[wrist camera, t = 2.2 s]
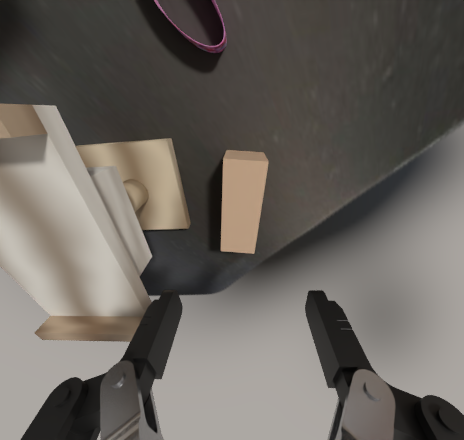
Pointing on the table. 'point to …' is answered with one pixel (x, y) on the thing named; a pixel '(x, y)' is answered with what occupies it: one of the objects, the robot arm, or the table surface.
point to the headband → (210, 49)
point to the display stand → (82, 221)
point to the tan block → (242, 199)
